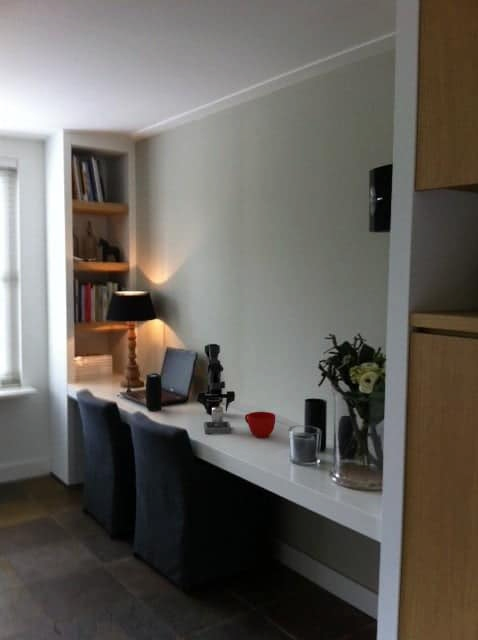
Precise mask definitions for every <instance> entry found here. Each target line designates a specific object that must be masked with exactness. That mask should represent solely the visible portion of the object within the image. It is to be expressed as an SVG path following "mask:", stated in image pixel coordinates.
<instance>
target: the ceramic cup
mask: <svg viewBox="0 0 478 640" xmlns="http://www.w3.org/2000/svg"><path fill="white" fill-rule="evenodd" d="M244 420H245V422H246V424H247V425H248V428H249V431H250V432H251V434H252V435H253V436H254V437H255V438H257V439H258V438H259V439H265V438H269V436H270V435H271V434H272V432H273V431H274V429H275V426H276V414H275V413H273V412H268V411H254V412H253V411H252V412H250V413H247V414H245V415H244Z"/></svg>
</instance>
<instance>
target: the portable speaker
mask: <svg viewBox="0 0 478 640" xmlns="http://www.w3.org/2000/svg"><path fill="white" fill-rule="evenodd" d="M162 385H163V382H162V375H161V374H159V373H156V372H154V373H150V374H146V381H145V403H146V405H145V406H146V409H147V410H148V411H149V412H155V411H156V410H159V411H161V410H162V403H163V392H162V391H163V389H162V388H163V387H162Z"/></svg>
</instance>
